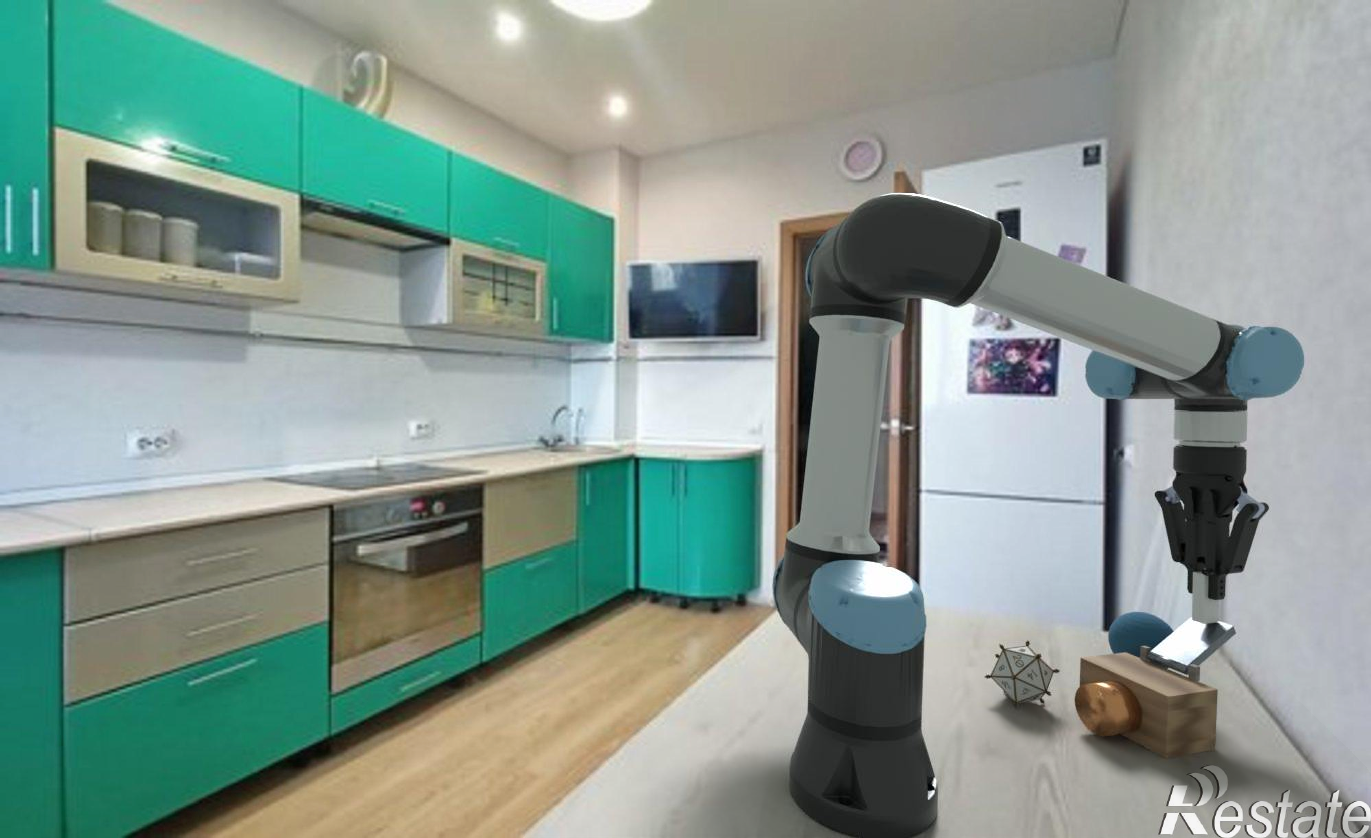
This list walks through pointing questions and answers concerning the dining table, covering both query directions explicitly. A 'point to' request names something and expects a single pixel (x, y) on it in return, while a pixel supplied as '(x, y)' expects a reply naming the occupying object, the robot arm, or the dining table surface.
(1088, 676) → the hitch block
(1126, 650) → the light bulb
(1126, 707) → the pin
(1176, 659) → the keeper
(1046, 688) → the game die
